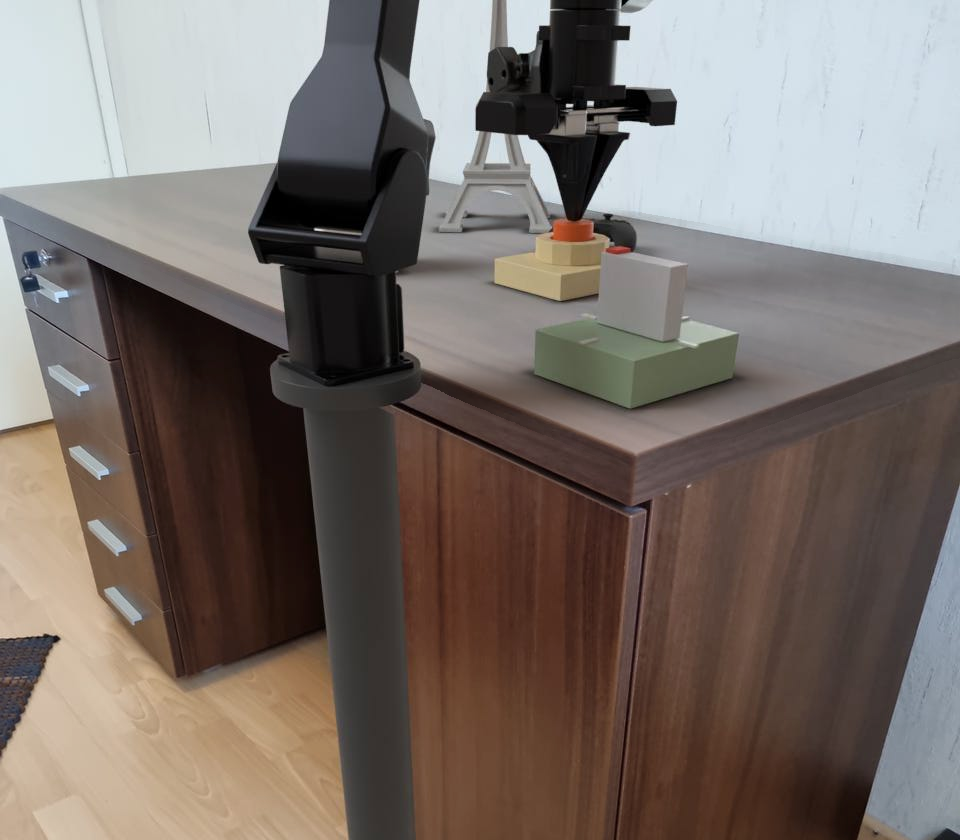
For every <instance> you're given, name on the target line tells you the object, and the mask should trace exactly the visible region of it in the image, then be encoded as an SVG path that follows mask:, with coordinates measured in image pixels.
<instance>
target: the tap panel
mask: <svg viewBox="0 0 960 840" xmlns="http://www.w3.org/2000/svg"><path fill="white" fill-rule="evenodd" d="M580 316H581V317H583V318H582V319H578V320H573V321H568V322H563V323H559V324H554V325H550V326H546V327H545V326H544V327H541V328H537V329H535V330H534V331H535V335H534V358H533V359H534V360H533V374H534V375H536V376H539V377H542V378H544V379H547V380H548V381H549V380H550V381H552V382H555V383H558V384H561V385H563V386H566V387H568V388H572V389H575V390H577V391H579V392H583V393H584V394H585V393H586V394H588V395H590V396H594V397H597V398H599V399H602V400H605V401H608V402H610V403H613V404H616V405H619V406H622V407H624V408H627V409H629V410H630V409H635V408H638V407H640V406H644V405H647V404H648V405H649V404H651V403H655V402H657V401H661V400H665V399H667V398H671V397H674V396H677V395H681V394H684V393H688V392H690V391H694V390H697V389H700V388H704V387H707V386H710V385H713V384H717V383H721V382H724V381H727V380H730V379H733V377H734V370H735V364H736V358H737V351H738V345H739V338H740V333H739V332H736V331H732V330H729V329H725V328H721V327H718V326H714V325H709V324H706V323H702V322H699V321H694V320H692V319H691V317H690V316H687V315H684V316H682V320H681V329H680V337H679V338H677V339H673V340H669V341H665V342H661V341H658V340H654V339H651V338H647V337H644V336H641V335H637V334H634V333H630V332H627V331H623V330H620V329H617V328H613V327H610V326H606V325H603V324H600V323H597V315H595V314H590V313H586V312H584V313H581V314H580Z"/></svg>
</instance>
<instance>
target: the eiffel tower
mask: <svg viewBox="0 0 960 840" xmlns="http://www.w3.org/2000/svg"><path fill="white" fill-rule="evenodd" d="M507 7H508V6H507V0H492V4H491V23H490V38H489V39H490V40H489V52H490V51H492V50H493V49H495V48H496V47H509V39H508V38H509V37H508V10H507V9H508V8H507ZM489 52H488V53H489ZM485 92H490V90H489V86H488V80H487V79H486V86H485ZM492 134H493V133H492V132H482V131H478V135H477V139H476V143H475V147H474V151H473V154H472V157H471V160H470V162H467V163H466V164H465V165H464V167H463V169H462V175H463V180H462V182H461V184H460V186H459V188H458V190H457V192H456V194H455V196H454V198H453V200H452V202H451V203H450V206H449V208H448V210H446V211H445V214H444V215H445V216H444V219H443V221H442V224H441V223H440V225H439V227H438V232H439V233H462V232H463V230H464V229H463V228H464V224H462V222H463V218H467V217H468V210H467V209H468V207H469V205H470V204H471V203H472V202H473V201H474V200H475V199H476V198H477V197H479V196H481V195H482V194H485V193H487V192H492V191H499V192H505V193H507V194H510V195H512V196H513V197H515V198H516V199H517V200H518V201H519V202H520V203H521V204H522V206H523V207H524V209H525V211H526V214H527V216H528V219H529V223H530V224H529V227H528V228H529V229H528V232H529V234H544V233H548V232H549V230H550V229H551V228H553V225H552V224H550V222H549V219H551V211H549V209H548V207H547V206H546V205H547V204H546V203H545V202H544V199H543V197H542V196H541V193H540V191H539V189H538V188H537V186H536V184H535V181H534V179H533V177H532V176H531V163H526V162H525V158H524V155H523V151H522V148H521V143H520V139H519V135H510V134H504V142H505V148H506V153H507V158H508V162H507V163H506V162H505V163H504V162H503V163H502V162H499V163H497V162H486V161H487V156H488V153H489V148H490V143H491V137H492Z"/></svg>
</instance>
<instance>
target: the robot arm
mask: <svg viewBox="0 0 960 840" xmlns="http://www.w3.org/2000/svg"><path fill="white" fill-rule="evenodd" d="M653 1H654V0H550V1H549V23H548V25H546V24H545V25H538V30H537V31H536V35H535V36H536V38H535V48H534V49H533V50H532V51H530V52H519V53H518V51H516V49H515V48H514V47H513V46H508V47H496V48H495V49H493V50H492V51H490V50H489V51H490V52H488V53H487V64H486V66H487V67H486V81H487V80H488V86H489V90H490V92H486V91H483V92H482V94H481V96H480V98H479V99H478V101H477V103H476V105H475V108H474V109H475V110H474V111H475V119H474V121H475V122H474V123H475V125H474V126H475V128H474V129H475V131H476V132H479V131H482V132H492V133H491V134H502V135H503V134H510V135H518V136H527V137H528V139H529V140H531V141H536V142H537V143H538V145H539V146H540V147H541V148H542V150H543V151H544V152H545V153H546V155H547V157H548V160H549V162H550V165H551V167H552V170H553V173H554V176H555V179H556V184H557V188H558V192H559V196H560V199H561V203H562V206H563V210H564V214H565V217H566V218H565V219H567V220H569V221H580V220H581V219H582V218H584V216H585V213H586V211H587V209H588V207H589V205H590V203H591V201H592V199H593V198H594V195H595V193H596V191H597V189H598V186H599V185H600V183H601V181H602V179H603V177H604V175H605V173H606V171H607V169H608V167H610V164H611V163H612V161H613V160H614V158H615V156H616V154H617V152H618V151H619V149H620V147H621V145H622V144H623V143H624V141H629V140H630V139H631V132H627V131H620V123H621V122H633V123H642V124H649V126H650V127H665V126H667V127H668V126H675V125H676V117H677V116H676V115H677V107H678V99H677V97H676V96H675V94H674V93H673V91H672V89H671V88H665V87H664V88H663V87H646V86H645V87H643V86H627V85H626V84H616V83H617V70H618V68H617V67H618V56H619V55H618V54H619V41H624V42H625V41H630V40H631V25H621V14H622V13H623V14H634V13H637V12H640V11H642V10H643V9H645V8H647V7H649V5H650V4H652V3H653ZM419 9H420V0H328V9H327V18H326V25H325V33H324V41H323V43H324V44H323V49H322V53H321V57H320V58H319V60H318V61H317V63H316V64H315V66H313V69H312V70H311V71H310V72H309V74H308V76H307V77H306V79H305V80H304V82H303V83H302V85H301V86H300V88H299V89H298V90H297V92H296V93H295V95H294V96H293V98H292V99H291V101H290V103H289V106H288V110H287V113H286V119H285V124H284V127H283V132H282V138H281V141H280V146H279V151H278V155H277V161H276V164H275V166H274V168H273V171H272V173H271V176H270V178H269V179H268V183H267V185H266V187H265V189H264V190H263V191H264V192H263V193H262V196H261V199H260V201H259V203H258V205H257V207H256V210H255V212H254V214H253V217H252V218H251V220H250V223H249V225H248V230H247V233H248V237H249V240H250V242H251V245H252V248H253V251H254V254H255V257H256V259H257V261H258V263H259V264H263V265H270V264H273V265H280V266H279V273H280V274H279V275H280V282H281V284H280V285H281V292H282V302H283V310H284V318H285V319H284V320H285V329H286V337H287V339H286V340H287V347H288V353H281V354H278V355H277V356H276V357H277V359H278V364H280V365H282V366H284V367H286V368H288V369H290V370H292V371H294V372H297V373H299V374H301V375H303V376H305V377H307V378H309V379H311V380H313V381H315V382H317V383H319V384H321V385H324V386H328V387H332V386H338V385H342V384H346V383H351V382H355V381H360V380H364V379H368V378H373V377H377V376H382V375H386V374H390V373H395V372H399V371H404V370H408V369H412V368H414V360H413V359H411V358H408V357H406V356H403V355H401V354H399V353H402V352H403V351H405V328H404V327H405V325H404V306H403V305H404V304H403V303H404V302H403V301H404V300H403V288H402V286H401V285H400V284H399V283H397V273H396V271H398V272H399V271H401V270H405V269H407V268H411V267H414V266H416V265H417V263H418V258H419V253H420V244H421V237H422V232H423V231H422V229H423V224H424V216H425V210H426V209H425V208H426V204H427V203H426V202H427V196H429V195H430V169H431V161H432V157H433V156H432V155H433V151H434V147H435V144H436V137H437V136H436V132H435V127H434V126H435V125H434V124H433V122H432V121H431V120H429V119H426V118H424V116H423V114H422V111H421V109H420V105H419V103H418V100H417V98H416V95H415V92H414V89H413V86H412V83H411V79H410V78H411V67H412V59H413V51H414V43H415V36H416V29H417V23H418V16H419ZM588 102H593V104H588ZM567 105H572V106H567ZM315 229H324V230H334V231H343V232H353V233H362V235H354V234H344V233H335V232H326V231H316V230H315Z"/></svg>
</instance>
